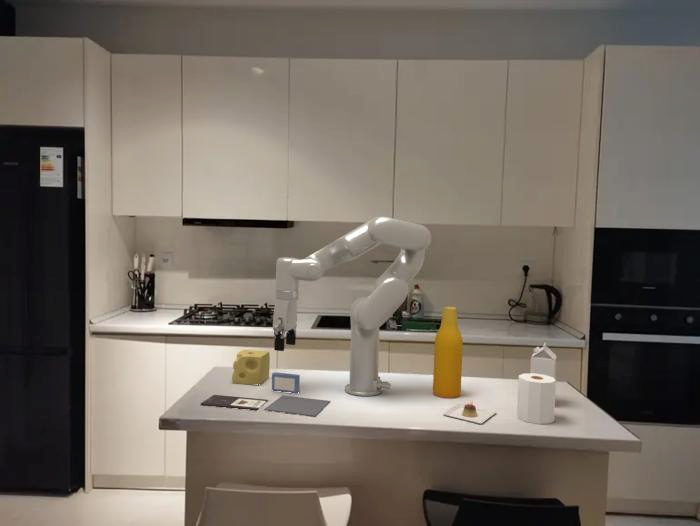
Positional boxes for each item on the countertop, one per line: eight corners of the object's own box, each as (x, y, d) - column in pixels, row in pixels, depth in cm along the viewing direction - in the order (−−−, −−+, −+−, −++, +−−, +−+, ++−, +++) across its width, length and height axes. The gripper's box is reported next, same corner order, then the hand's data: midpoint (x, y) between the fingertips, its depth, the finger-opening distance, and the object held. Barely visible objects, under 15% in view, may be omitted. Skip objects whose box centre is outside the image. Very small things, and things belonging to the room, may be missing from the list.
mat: (330, 402, 166) (330, 400, 166) (315, 416, 153) (315, 415, 153) (282, 396, 170) (282, 395, 170) (263, 410, 157) (263, 409, 157)
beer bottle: (452, 389, 183) (455, 305, 181) (466, 397, 174) (469, 309, 173) (427, 391, 180) (430, 306, 178) (440, 399, 171) (444, 310, 170)
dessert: (481, 427, 150) (482, 410, 149) (442, 417, 156) (442, 401, 156) (496, 415, 159) (497, 400, 159) (458, 407, 166) (459, 392, 166)
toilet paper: (550, 413, 161) (552, 374, 160) (556, 426, 151) (558, 383, 150) (515, 410, 163) (517, 371, 162) (518, 422, 153) (520, 380, 152)
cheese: (231, 383, 183) (232, 355, 182) (243, 375, 193) (243, 348, 193) (260, 386, 181) (261, 357, 181) (270, 377, 192) (271, 350, 191)
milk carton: (554, 401, 173) (557, 343, 172) (552, 407, 167) (555, 347, 165) (531, 397, 176) (534, 340, 175) (528, 403, 170) (531, 344, 168)
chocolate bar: (214, 394, 169) (267, 399, 165) (214, 397, 169) (267, 402, 165) (200, 403, 160) (257, 409, 156) (200, 406, 160) (257, 412, 156)
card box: (299, 392, 175) (299, 374, 175) (297, 394, 173) (297, 376, 173) (273, 389, 177) (274, 372, 177) (271, 391, 176) (271, 373, 175)
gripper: (286, 292, 183) (284, 341, 184) (265, 297, 166) (263, 351, 167) (306, 293, 181) (305, 343, 182) (287, 299, 164) (285, 354, 165)
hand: (285, 347), depth 174 cm, fingers open, 9 cm apart
